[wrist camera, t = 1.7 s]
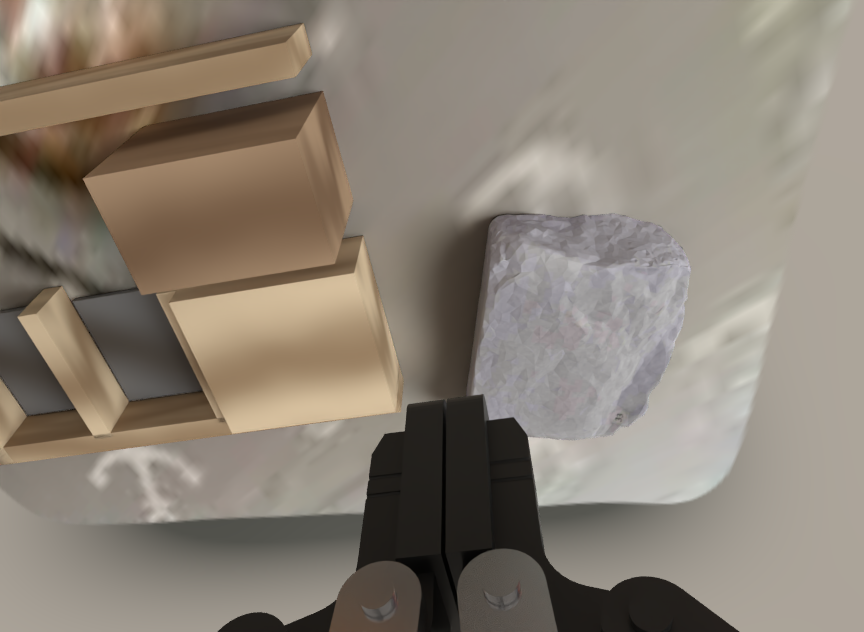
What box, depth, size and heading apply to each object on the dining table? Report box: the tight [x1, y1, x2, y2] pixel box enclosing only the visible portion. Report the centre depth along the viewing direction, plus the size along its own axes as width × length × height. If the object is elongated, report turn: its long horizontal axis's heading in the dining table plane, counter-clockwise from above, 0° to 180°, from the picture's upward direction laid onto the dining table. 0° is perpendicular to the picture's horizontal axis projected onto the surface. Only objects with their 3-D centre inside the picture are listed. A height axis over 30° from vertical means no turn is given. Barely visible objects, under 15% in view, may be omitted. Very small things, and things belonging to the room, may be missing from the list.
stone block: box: [466, 213, 691, 440], centre depth 33 cm, size 12×5×10 cm
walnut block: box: [83, 91, 353, 295], centre depth 28 cm, size 5×8×6 cm, turn 101°
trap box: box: [0, 23, 404, 465], centre depth 32 cm, size 18×23×4 cm
